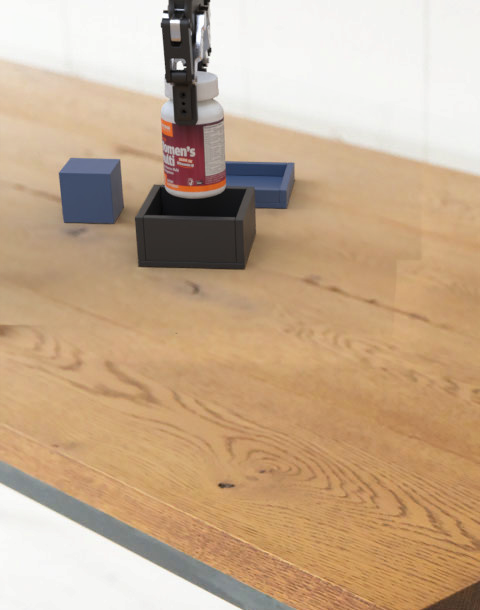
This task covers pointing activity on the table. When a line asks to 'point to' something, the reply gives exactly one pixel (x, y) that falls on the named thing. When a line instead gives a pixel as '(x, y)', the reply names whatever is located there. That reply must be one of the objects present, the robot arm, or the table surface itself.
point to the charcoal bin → (196, 229)
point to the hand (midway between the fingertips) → (191, 114)
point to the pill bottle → (195, 144)
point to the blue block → (91, 190)
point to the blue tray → (263, 181)
